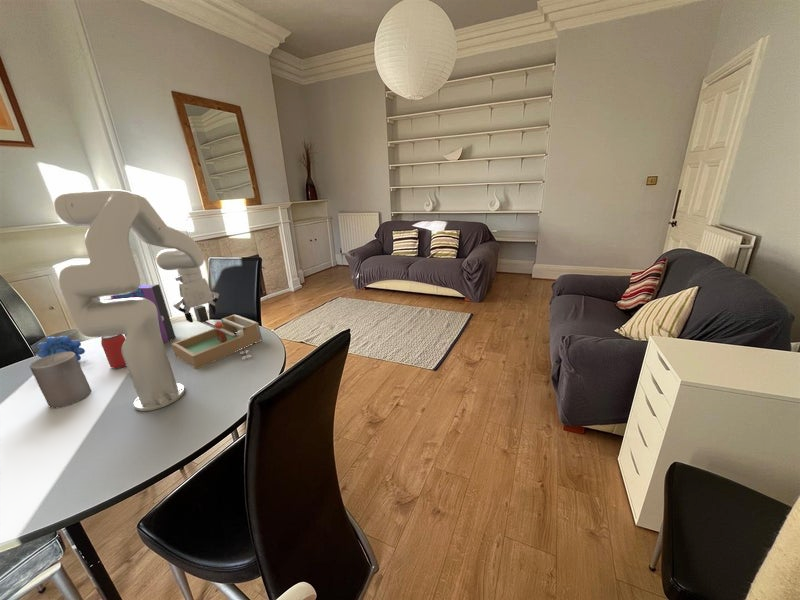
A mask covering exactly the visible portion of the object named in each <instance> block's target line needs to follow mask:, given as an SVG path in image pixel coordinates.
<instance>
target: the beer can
mask: <svg viewBox="0 0 800 600" xmlns="http://www.w3.org/2000/svg"><path fill="white" fill-rule="evenodd" d="M100 339H101V341H100V343H101V346H102V349H103V351H104V352H103V353H104V354H105V357H106V359H107V362H108V365H109V367H110V368H111V369H115V368H116V369H121V367H122V368H125V367H127V366H126V363H125V361H124V358H123V356H122V352H121V348H122V345H123V343H124V341H125V339H126V337H125V335H124V334H121V335H111V336H102V337H100Z"/></svg>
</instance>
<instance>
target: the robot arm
mask: <svg viewBox="0 0 800 600" xmlns="http://www.w3.org/2000/svg"><path fill="white" fill-rule="evenodd" d="M53 208H54V212H55V214H56V216H58V218H60V219H61V221H63V222H64V223H66V224H69V225H70V226H75V227H80V226H81V227H83V226H87V227H88V226H89V227H88V229H87V231H86V233H85V236H84V245H85V249H86V251H87V254H88V255H87V256H88V258H89V260H87V261H85V260H84V261H75V262H72V263H68V264H67V265H65V266H64V267H63V268H62V269H61V270H60V272H59V277H58V283H59V284H58V285H59V288H60V291H61V294H62V296H63V299H64V301H65V304H66V306H67V309H68V311H69V314H70V316H71V319H72V321H73V323H74V325H75V327H76V330H78V332H79V333H80V334H82V335H83V336H86V337H87V338H88V337H90V338H101V337H102V336H111V335H121V334H122V335H124V336H125V335H126V337H125V341H124V343H123V345H122V348H121V352H122V356H123V358H124V361H125V363H126V366H125V367H126V368H127V372H128V373H129V376H130V380H131V381H132V384H133V386H134V389H135V392H136V394H137V397H136V398H135V400H134V401H133V407H134V409H135V410H137V411H141V412H149V411H154V410H158V409H161V408H165V407H166V406H168V405H171V404H173V403H174V402H176V401H177V400H179V399H180V398H181V397H182V396H183V395H184V393H185V392H186V389H185V386H184V384H182V383H180V382H179V383H178V382H177V381H176V378H175V375H174V371H173V369H172V365H171V362H170V359H169V357H168V353H167V350H166V347H165V344H164V342H163V340H162V337H161V333H160V329H159V322H158V312H157V308H156V306H155V304H154V303H153V302H152V301H150V300H148V299H145V298H125V299H115V300H112V299H111V300H110V299H109V300H107V299H106V300H101V297H111V296H114V295H123V294H128V293H132V292H135V291H136V290H138V288H139V287H140V285H141V278H140V274H139V270H138V268H137V264H136V260H135V258H134V255H133V252H132V249H131V244H130V240H129V238H130V231H133V232H134V233H135V234H136V236H137V237H138V238H139V239H140V240H141V241H142V242H143V243H144V244H148V245H151V246H155V247H161V248H167V249H163V250H160V251H159V252H158V253H157V255H156V259H155V260H156V264H157V266H158V267H159V268H160V269H162V270H164V271H165V270H166V271H177V273H178V275H177V276H175V279H174V280H175V281H176V282H177V281H179V283H178V285H179V288H178V289H179V295H180V298H179V299H178V300H177V301H176V302H175V303H174V304H173V307H174V308H175V309H177V311H180V312H182V313H183V314H184V317H185V320H186V321H187V322H189V323H193V322H194V319H193V317H192V313H191V312H190V311H191V309H192V308H193V307H197V306H200V305H202V306H203V305H205V304H208V308H209V309H208V310H209V312H210V315H212V316H213V315H214V316H216V314H217V313H216V312H217V311H216V307H215V306H216V304H217V302H218V300H219V296H220V293H218V292H215V291H212V290H211V289H210V286H209V283H208V281H207V280H206V278H205V277H203V275H202V271H201V266H203V264H204V261H205V260H204V259H205V258H204V254H203V252H202V249H200V247H199V246H198V243H196V241H195V240H194V239H193V238H192V237H191V236H189V235H187V234H185V233H184V232H181V231H180V230H177V229H175V228H172V227H170V226H168V225H167V224H166V223H165V222H164V220H163V219H162V217H160V214H158V212H157V211H156V209H155V208H154V207H153V205H151V203H150V202H149V201H148V200H147V199H146V197H144V196H143V195H141V194H139V193H135V192H134V193H133V192H131V191H128V190H123V189H95V190H79V191H74V190H73V191H64V192H62V193H58V195H57V196H55V198H54V201H53ZM181 304H182V306H183V307H181Z"/></svg>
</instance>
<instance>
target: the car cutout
mask: <svg viewBox="0 0 800 600" xmlns="http://www.w3.org/2000/svg"><path fill="white" fill-rule="evenodd" d="M248 351H249V352H250V350H249V349H246V348H244V346H243V349H242V350H241V351H239V355H240V354H242V353H245V354H244V356H241V359H244V360H246V359H245V358H247V357H251V356H252V355H251V354H247V353H246V352H248ZM251 358H252V357H251Z"/></svg>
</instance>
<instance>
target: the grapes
mask: <svg viewBox="0 0 800 600" xmlns="http://www.w3.org/2000/svg"><path fill="white" fill-rule="evenodd" d="M81 345H82V342H81V341H79V340H77V339H72V340H71V338H70V337H69V336H67V335H61V336H59V337H58V338H57V337H55V336H47V338H45V341H43V342H39V343H38V344H37V346H36V347H37V348H38V350H39V351H37V357H39V358H40V359H41V358H43V357H46V356H49V355H52V354H56V353H61V352H74V353H75V355H76V357H77V360H78V362H80V360H82V356H81V355H83V354H85V352H86V350H85V349H84V348H83V347H81Z"/></svg>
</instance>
